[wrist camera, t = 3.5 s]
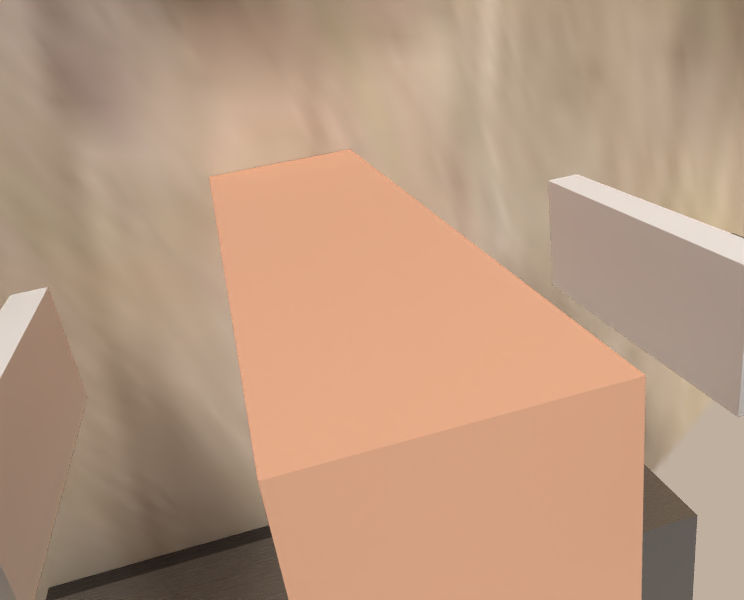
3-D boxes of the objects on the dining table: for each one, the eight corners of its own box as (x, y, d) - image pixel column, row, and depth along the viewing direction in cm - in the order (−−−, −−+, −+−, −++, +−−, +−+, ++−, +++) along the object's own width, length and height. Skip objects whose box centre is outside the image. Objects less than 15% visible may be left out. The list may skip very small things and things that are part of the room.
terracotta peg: (240, 308, 21) (329, 759, 8) (209, 176, 19) (256, 481, 6) (370, 278, 21) (640, 651, 9) (350, 149, 20) (646, 375, 7)
